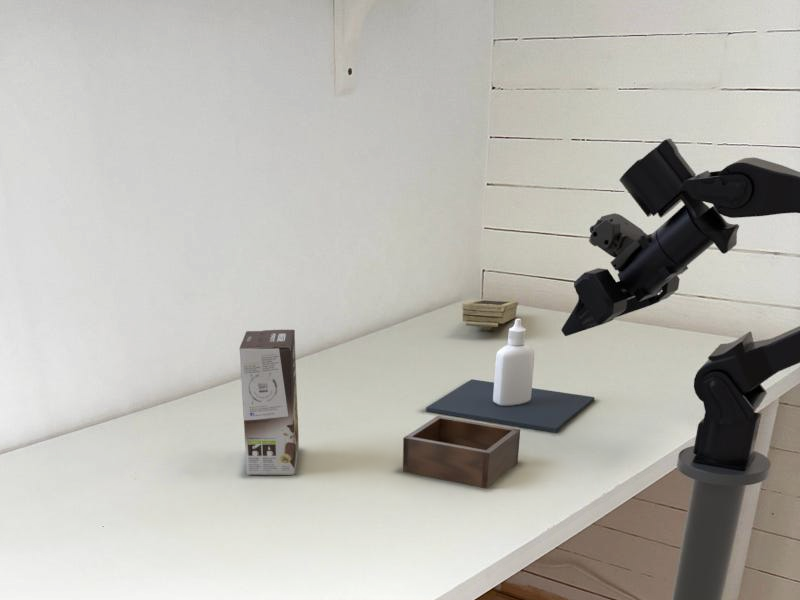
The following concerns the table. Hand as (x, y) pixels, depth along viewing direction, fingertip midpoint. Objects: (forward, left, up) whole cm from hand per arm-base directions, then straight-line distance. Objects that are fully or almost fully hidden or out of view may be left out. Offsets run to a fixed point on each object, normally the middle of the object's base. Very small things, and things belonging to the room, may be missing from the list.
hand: (581, 326), depth 132 cm
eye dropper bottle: (+10, -4, -13) cm, 17 cm away
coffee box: (+29, +32, -14) cm, 45 cm away
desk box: (+7, +22, -14) cm, 27 cm away
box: (+33, -47, -14) cm, 59 cm away
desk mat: (+11, -4, -14) cm, 18 cm away
